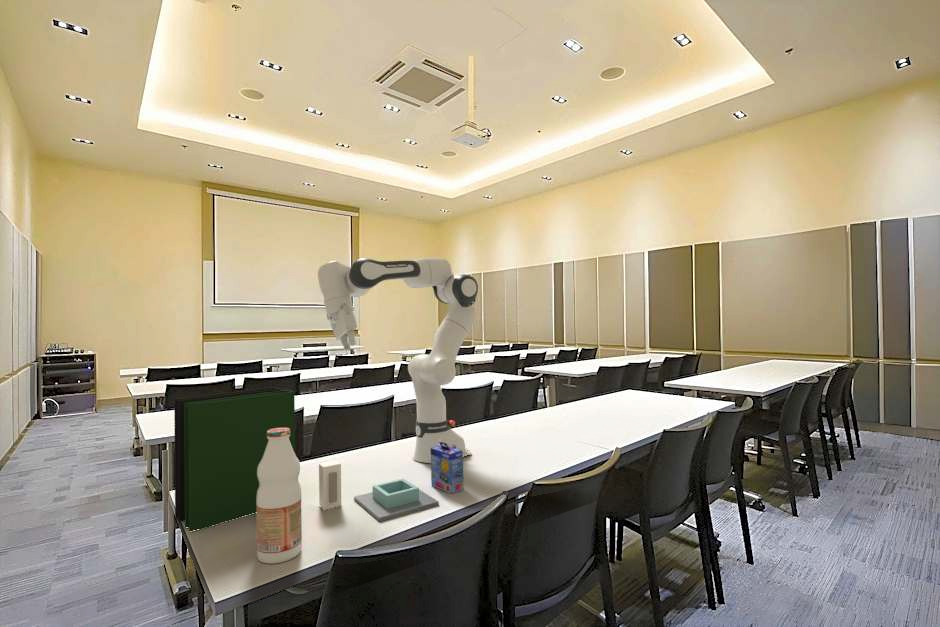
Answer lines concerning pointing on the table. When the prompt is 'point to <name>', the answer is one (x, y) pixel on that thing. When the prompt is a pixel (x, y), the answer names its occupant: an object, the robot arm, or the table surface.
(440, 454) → the ink cartridge box
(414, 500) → the socket dock
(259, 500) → the fruit juice
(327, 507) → the keyed plug
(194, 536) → the table surface
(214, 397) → the binder
